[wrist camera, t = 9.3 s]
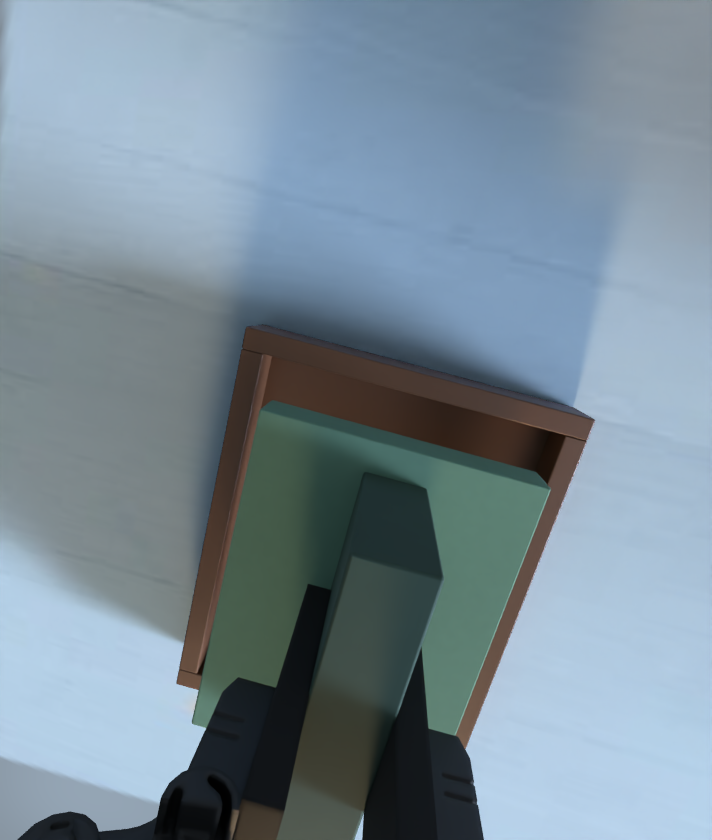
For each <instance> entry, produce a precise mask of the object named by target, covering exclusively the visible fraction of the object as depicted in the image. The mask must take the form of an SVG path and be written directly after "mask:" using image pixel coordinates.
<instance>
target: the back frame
mask: <svg viewBox="0 0 712 840" xmlns="http://www.w3.org/2000/svg"><path fill="white" fill-rule="evenodd" d="M242 348H243V349H242V350H241V355H240V360H239V365H238V371H237V376H236V381H235V386H234V391H233V396H232V401H231V406H230V411H229V417H228V422H227V427H226V432H225V437H224V442H223V447H222V452H221V457H220V463H219V468H218V473H217V478H216V483H215V488H214V493H213V498H212V503H211V509H210V514H209V519H208V524H207V529H206V534H205V539H204V544H203V549H202V555H201V560H200V565H199V570H198V575H197V580H196V585H195V590H194V595H193V601H192V606H191V611H190V616H189V621H188V626H187V631H186V636H185V641H184V647H183V652H182V657H181V662H180V667H179V668H180V669H179V672H178V677H177V684H179V685H183V686H186V687H190V688H193V689H197V690H199V687H200V682H201V678H202V673H203V669H204V664H205V659H206V655H207V650H208V646H209V641H210V636H211V632H212V627H213V623H214V618H215V613H216V609H217V604H218V600H219V595H220V590H221V586H222V581H223V577H224V572H225V567H226V563H227V558H228V554H229V549H230V544H231V540H232V535H233V531H234V526H235V521H236V517H237V512H238V508H239V503H240V498H241V494H242V489H243V485H244V480H245V475H246V471H247V466H248V462H249V457H250V452H251V448H252V443H253V439H254V434H255V429H256V425H257V420H258V416H259V411H260V409H261V408H263V407H264V406H265V405H266V404H268V403H269V402H270V401H272V400H274V401H278V402H282V403H285V404H289V405H293V406H296V407H300V408H304V409H307V410H311V411H315V412H318V413H322V414H325V415H329V416H333V417H336V418H340V419H344V420H347V421H351V422H355V423H358V424H362V425H366V426H369V427H373V428H377V429H380V430H384V431H388V432H391V433H395V434H399V435H402V436H406V437H410V438H413V439H417V440H421V441H424V442H428V443H432V444H435V445H439V446H442V447H446V448H450V449H453V450H457V451H461V452H464V453H468V454H472V455H475V456H479V457H483V458H486V459H490V460H494V461H497V462H501V463H505V464H508V465H512V466H516V467H519V468H523V469H527V470H530V471H534V472H536V473H538V475H539V476H540V477H541V478H542V479H543V480H544V481H545V483H546V484H547V485H548V486H549V487H550V488H551V491H550V493H549V496H548V498H547V501H546V503H545V506H544V509H543V511H542V514H541V516H540V519H539V521H538V524H537V527H536V529H535V532H534V534H533V537H532V540H531V542H530V545H529V547H528V550H527V552H526V555H525V558H524V560H523V563H522V565H521V568H520V570H519V573H518V576H517V578H516V581H515V583H514V586H513V588H512V591H511V594H510V596H509V599H508V601H507V604H506V606H505V609H504V612H503V614H502V617H501V619H500V622H499V624H498V627H497V630H496V632H495V635H494V637H493V640H492V642H491V645H490V648H489V650H488V653H487V655H486V658H485V660H484V663H483V666H482V668H481V671H480V673H479V676H478V678H477V681H476V684H475V686H474V689H473V691H472V694H471V696H470V699H469V702H468V704H467V707H466V709H465V712H464V715H463V717H462V720H461V722H460V725H459V727H458V730H457V733H456V735H455V736H457V737H459V739H460V741H461V743H462V745H463V747H464V748H465V749H466V747H467V744H468V741H469V739H470V736H471V734H472V731H473V729H474V726H475V724H476V721H477V719H478V716H479V714H480V711H481V709H482V706H483V704H484V701H485V698H486V696H487V693H488V691H489V688H490V686H491V683H492V681H493V678H494V676H495V673H496V671H497V668H498V666H499V663H500V661H501V658H502V655H503V653H504V650H505V648H506V645H507V643H508V640H509V638H510V635H511V633H512V630H513V628H514V625H515V623H516V620H517V618H518V615H519V612H520V610H521V607H522V605H523V602H524V600H525V597H526V595H527V592H528V590H529V587H530V585H531V582H532V580H533V577H534V575H535V572H536V569H537V567H538V564H539V562H540V559H541V557H542V554H543V552H544V549H545V547H546V544H547V542H548V539H549V537H550V534H551V532H552V529H553V526H554V524H555V521H556V519H557V516H558V514H559V511H560V509H561V506H562V504H563V501H564V499H565V496H566V494H567V491H568V489H569V486H570V483H571V481H572V478H573V476H574V473H575V471H576V468H577V466H578V463H579V461H580V458H581V456H582V453H583V451H584V448H585V446H586V443H587V441H586V440H588V438H589V435H590V433H591V430H592V428H593V425H594V423H595V420H594V419H593V418H591V417H589V416H587V415H586V414H584V413H582V412H580V411H579V410H577V409H575V408H573V407H570V406H566V405H562V404H558V403H555V402H551V401H547V400H544V399H540V398H536V397H532V396H529V395H525V394H521V393H517V392H514V391H510V390H506V389H502V388H499V387H495V386H491V385H487V384H484V383H480V382H476V381H472V380H469V379H465V378H461V377H457V376H454V375H450V374H446V373H442V372H439V371H435V370H431V369H427V368H424V367H420V366H416V365H413V364H409V363H405V362H401V361H398V360H394V359H390V358H386V357H383V356H379V355H375V354H371V353H368V352H364V351H360V350H356V349H353V348H349V347H345V346H341V345H338V344H334V343H330V342H326V341H323V340H319V339H315V338H311V337H308V336H304V335H300V334H296V333H293V332H289V331H285V330H281V329H278V328H274V327H270V326H267V325H256V326H249V327H246V330H245V335H244V340H243V345H242Z"/></svg>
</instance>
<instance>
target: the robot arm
mask: <svg viewBox="0 0 712 840" xmlns="http://www.w3.org/2000/svg"><path fill="white" fill-rule="evenodd" d="M330 594H331V590H330V589H326V588H322V587H319V586H315V585H311V584H308V585H307V589H306V592H305V595H304V598H303V602H302V605H301V608H300V611H299V615H298V618H297V621H296V624H295V628H294V631H293V634H292V637H291V641H290V644H289V647H288V650H287V654H286V657H285V660H284V663H283V667H282V670H281V673H280V676H279V680H278V683H277V686H276V688H275V687H272V686H268V685H265V684H261V683H257V682H254V681H250V680H247V679H243V678H239V677H238V678H237V679H235V680H234V681H233V682H232V683H231V684H230V685H229V686H228V687H227V688H226V689H225V690H224V691H223V692H222V694H221V696H220V698H219V701H218V703H217V705H216V707H215V710H214V712H213V715H212V716H211V719H210V721H209V723H208V725H207V728H206V731H205V732H204V734H203V737H202V739H201V741H200V743H199V746H198V748H197V750H196V752H195V755H194V757H193V759H192V761H191V764H190V766H189V768H188V770H187V771H184V772H182V773H181V774H179V775H178V776H177V777H176V778H175V779H174V780H172V781H171V782H170V783H169V785H168V787H167V788H166V790H165V792H164V793H163V795H162V797H161V801H160V806H159V811H158V815H157V817H156V818H155V819H153V820H152V821H150V822H148V823H146V824H143V825H141V826H138V827H134V828H129V829H122V830H113V831H102V832H99V831H98V828H97V825H96V823H94V822H93V821H92V820H91V819H90V818H88V817H87V816H86V815H84V814H79V813H74V812H66V813H60V814H54V815H51V816H50V817H48V818H46V819H44V820H42V821H40V822H38V823H36V824H34V825H33V826H32V827H31V828H30V829H29V830H28V831H26V832H25V833H24V834H23V835H22V836H21V837H20V838H19V839H18V840H276V839H277V836H278V832H279V829H280V825H281V822H282V818H283V815H284V811H285V807H286V802H287V797H288V793H289V788H290V783H291V779H292V774H293V769H294V765H295V760H296V755H297V751H298V746H299V741H300V737H301V732H302V727H303V723H304V718H305V714H306V709H307V704H308V700H309V691H310V686H311V682H312V677H313V672H314V668H315V663H316V659H317V654H318V649H319V645H320V640H321V636H322V631H323V627H324V622H325V617H326V613H327V608H328V604H329V599H330ZM473 783H474V780H473V774H472V768H471V762H470V758H469V756H468V754H467V752H466V750H465V748H464V747H463V745H462V743H461V741H460V739H459V737H457V736H454V735H450V734H446V733H443V732H439V731H436V730H432V729H429V728H428V717H427V705H426V693H425V681H424V669H423V657H422V646H421V649H420V652H419V655H418V658H417V661H416V664H415V666H414V669H413V672H412V675H411V678H410V681H409V684H408V687H407V689H406V692H405V695H404V698H403V701H402V704H401V707H400V710H399V713H398V715H397V718H396V720H395V722H394V725H393V728H392V731H391V734H390V737H389V740H388V743H387V746H386V749H385V752H384V755H383V757H382V760H381V763H380V766H379V769H378V772H377V775H376V778H375V781H374V784H373V786H372V789H371V792H370V795H369V798H368V801H367V804H366V807H365V810H364V821H363V839H362V840H484V838H483V832H482V827H481V821H480V815H479V809H478V805H477V797H476V791H475V786H473Z"/></svg>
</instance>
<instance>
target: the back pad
mask: <svg viewBox="0 0 712 840" xmlns="http://www.w3.org/2000/svg"><path fill="white" fill-rule="evenodd" d="M550 491H551V488H550V487H549V486H548V485H547V484H546V483H545V481H544V480H543V479H542V478H541V477H540V476H539V475H538V473H536V472H534V471H530V470H527V469H523V468H519V467H516V466H512V465H508V464H505V463H501V462H497V461H494V460H490V459H486V458H483V457H479V456H475V455H472V454H468V453H464V452H461V451H457V450H453V449H450V448H446V447H442V446H439V445H435V444H432V443H428V442H424V441H421V440H417V439H413V438H410V437H406V436H402V435H399V434H395V433H391V432H388V431H384V430H380V429H377V428H373V427H369V426H366V425H362V424H358V423H355V422H351V421H347V420H344V419H340V418H336V417H333V416H329V415H325V414H322V413H318V412H315V411H311V410H307V409H304V408H300V407H296V406H293V405H289V404H285V403H282V402H278V401H274V400H272V401H270V402H269V403H268V404H266V405H265V406H264V407H263V408H261V409H260V411H259V416H258V420H257V425H256V429H255V434H254V439H253V443H252V448H251V452H250V457H249V462H248V466H247V471H246V475H245V480H244V485H243V489H242V494H241V498H240V503H239V508H238V512H237V517H236V521H235V526H234V531H233V535H232V540H231V544H230V549H229V554H228V558H227V563H226V567H225V572H224V577H223V581H222V586H221V590H220V595H219V600H218V604H217V609H216V613H215V618H214V623H213V627H212V632H211V636H210V641H209V646H208V650H207V655H206V659H205V664H204V669H203V673H202V678H201V682H200V687H199V692H198V696H197V701H196V705H195V710H194V715H193V719H192V724H194V725H198V726H201V727H205V728H207V725H208V723H209V721H210V719H211V716H212V715H213V712H214V710H215V707H216V705H217V703H218V701H219V698H220V696H221V694H222V692H223V691H224V690H225V689H226V688H227V687H228V686H229V685H230V684H231V683H232V682H233V681H234V680H235V679H237V678H238V677H239V678H243V679H247V680H250V681H254V682H257V683H261V684H265V685H268V686H272V687H275V688H276V686H277V683H278V680H279V676H280V673H281V670H282V667H283V663H284V660H285V657H286V654H287V650H288V647H289V644H290V641H291V637H292V634H293V631H294V628H295V624H296V621H297V618H298V615H299V611H300V608H301V605H302V602H303V598H304V595H305V592H306V589H307V585H308V584H311V585H315V586H319V587H322V588H326V589H330V590H331V594H330V599H329V604H328V608H327V613H326V617H325V622H324V627H323V631H322V636H321V640H320V645H319V649H318V654H317V659H316V663H315V668H314V672H313V677H312V682H311V686H310V691H309V700H308V704H307V709H306V714H305V718H304V723H303V727H302V732H301V737H300V741H299V746H298V751H297V755H296V760H295V765H294V769H293V774H292V779H291V783H290V788H289V793H288V797H287V802H286V807H285V811H284V815H283V818H282V822H281V825H280V829H279V832H278V836H277V839H276V840H354V839H355V836H356V834H357V831H358V828H359V825H360V822H361V819H362V816H363V813H364V810H365V807H366V804H367V801H368V798H369V795H370V792H371V789H372V786H373V784H374V781H375V778H376V775H377V772H378V769H379V766H380V763H381V760H382V757H383V755H384V752H385V749H386V746H387V743H388V740H389V737H390V734H391V731H392V728H393V725H394V722H395V720H396V718H397V715H398V713H399V710H400V707H401V704H402V701H403V698H404V695H405V692H406V689H407V687H408V684H409V681H410V678H411V675H412V672H413V669H414V666H415V664H416V661H417V658H418V655H419V652H420V649H421V646H422V657H423V669H424V681H425V693H426V705H427V717H428V728H429V729H432V730H436V731H439V732H443V733H446V734H450V735H454V736H455V735H456V733H457V730H458V727H459V725H460V722H461V720H462V717H463V715H464V712H465V709H466V707H467V704H468V702H469V699H470V696H471V694H472V691H473V689H474V686H475V684H476V681H477V678H478V676H479V673H480V671H481V668H482V666H483V663H484V660H485V658H486V655H487V653H488V650H489V648H490V645H491V642H492V640H493V637H494V635H495V632H496V630H497V627H498V624H499V622H500V619H501V617H502V614H503V612H504V609H505V606H506V604H507V601H508V599H509V596H510V594H511V591H512V588H513V586H514V583H515V581H516V578H517V576H518V573H519V570H520V568H521V565H522V563H523V560H524V558H525V555H526V552H527V550H528V547H529V545H530V542H531V540H532V537H533V534H534V532H535V529H536V527H537V524H538V521H539V519H540V516H541V514H542V511H543V509H544V506H545V503H546V501H547V498H548V496H549V493H550Z"/></svg>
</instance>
